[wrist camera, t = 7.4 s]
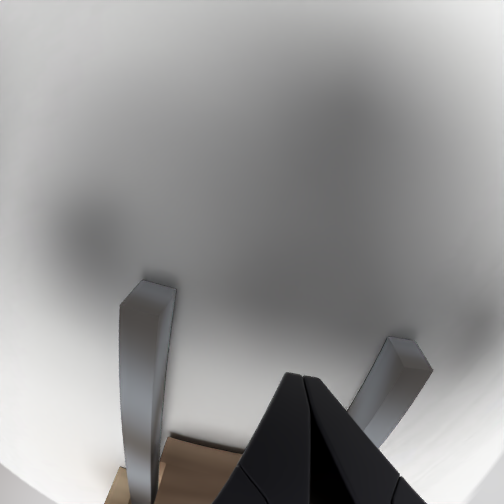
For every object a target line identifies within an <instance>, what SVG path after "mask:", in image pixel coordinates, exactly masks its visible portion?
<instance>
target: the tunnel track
mask: <svg viewBox="0 0 504 504" xmlns="http://www.w3.org/2000/svg"><path fill="white" fill-rule="evenodd" d="M175 295H176V289H174V288H170V287H167V286H163V285H159V284H156V283H152V282H149V281H145V280H142V281H141V282H140V283H139V284H138V285H137V286H136V287H135V288H134V289H133V291H132V292H131V293H130V294H129V295H128V296H127V297H126V298H125V299H124V301H123V302H122V303H121V304H120V315H119V381H120V404H121V420H122V433H123V444H124V453H125V462H126V469H124V468H121V467H119V470H118V472H117V475H116V477H115V479H114V482H113V484H112V486H111V489H110V491H109V494H108V496H107V498H106V501H105V503H104V504H154V501H155V498H156V495H157V492H158V475H159V454H160V438H161V423H162V410H163V399H164V388H165V377H166V368H167V358H168V349H169V341H170V333H171V325H172V317H173V310H174V303H175ZM432 372H433V369H432V368H431V366H430V364H429V363H428V361H427V359H426V358H425V356H424V354H423V353H422V351H421V350H420V348H419V346H418V345H417V343H416V342H415V341H413V340H407V339H401V338H395V337H390V336H388V338H387V340H386V342H385V344H384V346H383V348H382V350H381V352H380V354H379V356H378V358H377V360H376V362H375V364H374V365H373V367H372V369H371V371H370V373H369V375H368V377H367V378H366V380H365V382H364V384H363V386H362V387H361V389H360V391H359V393H358V394H357V396H356V398H355V399H354V401H353V403H352V404H351V406H350V408H349V409H348V411H347V412H348V413H349V415H350V416H351V417H352V418H353V419H354V421H355V422H356V423H357V424H358V425H359V427H360V428H361V429H362V430H363V431H364V433H365V434H366V435H367V436H368V437H369V439H370V440H371V441H372V442H373V443H374V444H375V446H376V447H377V448H378V449H379V447H380V446H381V445H382V444H383V442H384V441H385V440H386V439H387V437H388V436H389V435H390V433H391V432H392V431H393V429H394V428H395V427H396V425H397V424H398V423H399V421H400V420H401V419H402V417H403V416H404V414H405V413H406V411H407V410H408V409H409V407H410V406H411V404H412V403H413V401H414V400H415V398H416V397H417V395H418V394H419V392H420V391H421V389H422V388H423V386H424V385H425V383H426V381H427V380H428V378H429V377H430V375H431V373H432Z"/></svg>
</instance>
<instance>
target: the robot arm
mask: <svg viewBox="0 0 504 504" xmlns="http://www.w3.org/2000/svg"><path fill="white" fill-rule="evenodd" d="M399 476H400V474H399V473H398V471H397V470H396V469H395V468H394V467H393V466H392V464H391V463H390V462H389V461H388V460H387V459H386V457H385V456H384V455H383V454H382V453H381V452H380V450H379V449H378V448H377V447H376V446H375V444H374V443H373V442H372V441H371V440H370V439H369V437H368V436H367V435H366V434H365V433H364V431H363V430H362V429H361V428H360V427H359V425H358V424H357V423H356V422H355V421H354V419H353V418H352V417H351V416H350V415H349V413H348V412H347V411H346V410H345V409H344V407H343V406H342V405H341V404H340V403H339V401H338V400H337V399H336V398H335V397H334V395H333V394H332V393H331V392H330V390H329V389H328V388H327V387H326V386H325V384H324V383H323V382H322V381H321V380H320V379H319V378H317V377H311V376H301V375H300V374H294V373H289V372H286V373H285V374H284V376H283V378H282V380H281V382H280V384H279V386H278V388H277V390H276V392H275V394H274V396H273V398H272V400H271V402H270V404H269V406H268V408H267V410H266V412H265V414H264V416H263V418H262V419H261V421H260V423H259V425H258V427H257V429H256V431H255V433H254V434H253V436H252V438H251V440H250V442H249V444H248V445H247V447H246V449H245V451H244V453H243V455H242V456H241V458H240V460H239V462H238V463H237V465H236V467H235V468H234V470H233V472H232V473H231V475H230V477H229V479H228V480H227V482H226V483H225V485H224V486H223V488H222V489H221V491H220V492H219V494H218V495H217V497H216V498H215V500H214V501H213V502H212V503H211V504H427V503H426V502H425V501H424V500H423V499H422V498H421V497H420V496H419V495H418V494H417V493H416V492H415V491H414V489H413V488H412V487H411V486H410V485H409V484H408V483H407V482H406V480H405V479H404V478H403V477H402V476H400V477H399Z"/></svg>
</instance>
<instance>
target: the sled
mask: <svg viewBox="0 0 504 504" xmlns="http://www.w3.org/2000/svg"><path fill="white" fill-rule="evenodd" d="M242 455H243V454H238V453H233V452H228V451H223V450H218V449H214V448H209V447H205V446H201V445H197V444H193V443H189V442H185V441H181V440H178V439H174V438H171V437H168V438H167V441H166V444H165V446H164V449H163V452H162V455H161V458H160V462H159V484H158V492H157V495H156V498H155V501H154V504H211V503H212V502H213V501H214V500H215V498H216V497H217V495H218V494H219V492H220V491H221V489H222V488H223V486H224V485H225V483H226V482H227V480H228V479H229V477H230V475H231V473H232V472H233V470H234V468H235V467H236V465H237V463H238V462H239V460H240V458H241V456H242Z"/></svg>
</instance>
